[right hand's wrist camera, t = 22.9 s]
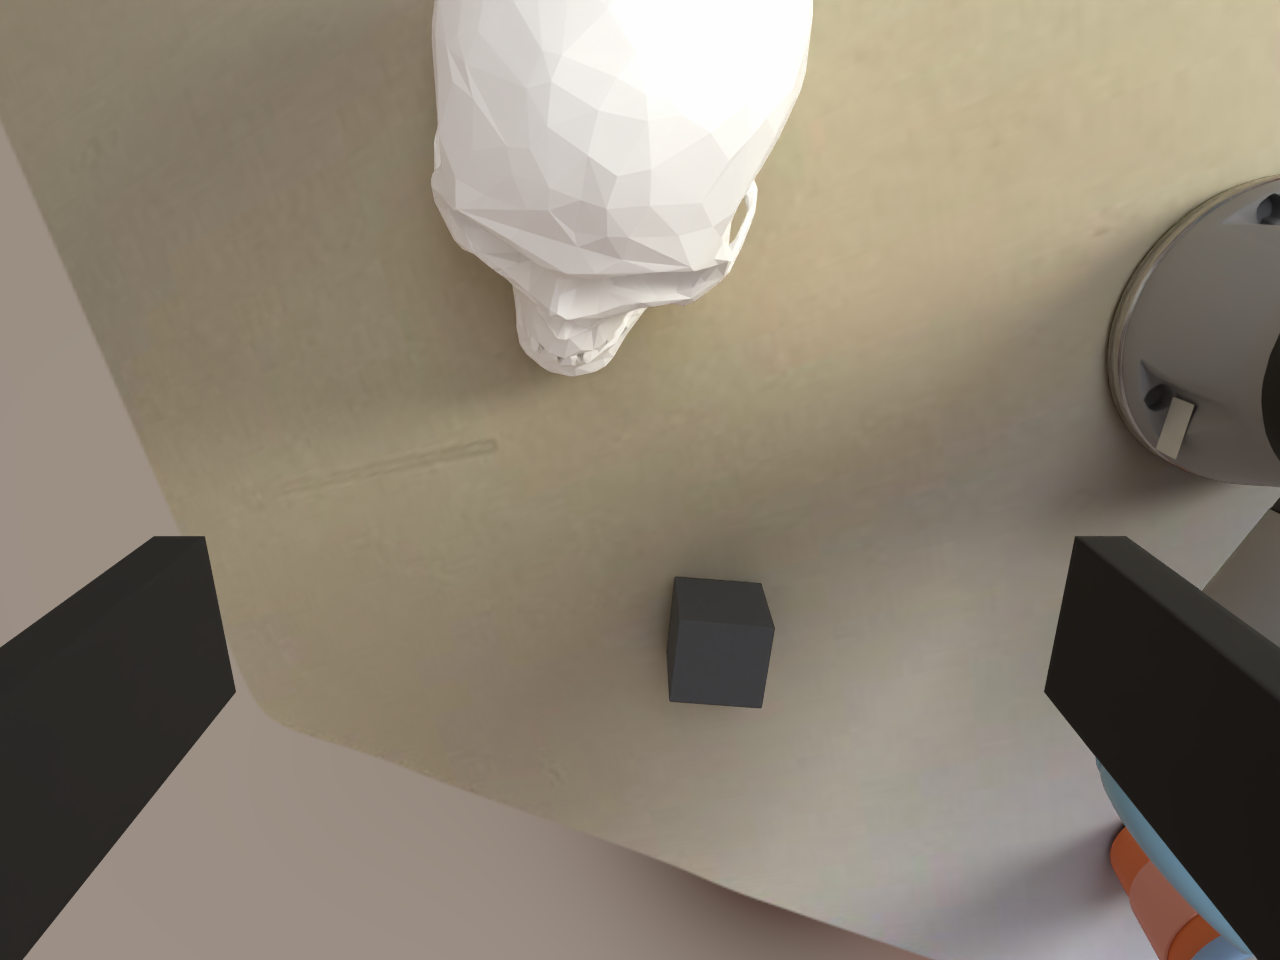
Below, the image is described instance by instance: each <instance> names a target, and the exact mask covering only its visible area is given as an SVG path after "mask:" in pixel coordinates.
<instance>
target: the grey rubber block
mask: <svg viewBox="0 0 1280 960" xmlns="http://www.w3.org/2000/svg"><path fill="white" fill-rule="evenodd" d="M774 630H775V627H774V624H773V621H772V617H771V614H770V611H769V608H768V604H767V601H766V598H765V594H764V591H763V588H762V585H761V584H760V583H749V582H736V581H723V580H710V579H698V578H685V577H675V581H674V589H673V598H672V607H671V616H670V625H669V633H668V642H667V651H666V652H667V670H668V687H669V701H670V702H681V703H695V704H708V705H722V706H735V707H749V708H762V703H763V697H764V691H765V685H766V678H767V672H768V666H769V660H770V654H771V648H772V642H773V636H774Z"/></svg>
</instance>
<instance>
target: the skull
mask: <svg viewBox="0 0 1280 960" xmlns="http://www.w3.org/2000/svg"><path fill="white" fill-rule="evenodd" d="M812 15H813V0H434V9H433V18H432V52H433V66H434V79H435V93H436V106H437V120H438V127H437V131H436V135H435V139H434V172H433V174H432V178H431V188H432V192H433V197H434V202H435V204H436V206H437V208H438V209H439V211H440V213H441V215H442V217H443V219H444V221H445V223H446V225H447V227H448V229H449V231H450V233H451V235H452V237H453V239H454V241H455V242H456V243H457V244H458V245H459V246H460V247H461V248H462V249H463V250H465V251H468V252H470V253H473V254H475V255H476V256H477V257H478V258H480V259H481V260H482V261H483V262H484V263H485V264H487V265H488V266H489V267H490V268H492V269H493V270H494V271H496V272H497V273H498V274H500V275H501V276H503V277H504V278H505V279H507V280H508V281H509V282H510V283H511V284H512V286H513V294H514V301H515V308H516V328H517V333H518V338H519V343H520V345H521V347H522V348H523V350H524V351H525V353H526V354H527V355H528V356H529V357H530V358H532V359H533V360H534V361H535V362H536V363H538V364H539V365H540V366H541V367H542V368H544V369H546V370H547V371H549V372H552V373H557V374H561V375H566V376H570V377H573V376H578V375H583V374H588V373H592V372H595V371H597V370H599V369H601V368H603V367H605V366H606V365H607V364H608V363H609V362H610V360H611V359H612V358H613V357H614V355H615V353H616V352H617V350H618V348H619V347H620V345H621V343H622V342H623V340H624V338H625V337H626V335H627V334H628V332H629V331H630V330H631V328H632V327H633V326H634V324H635V323H636V321H637V320H638V319H639V317H640V316H641V315H642V313H643V312H644V311H645V310H646V309H647V308H648V307H656V306H660V305H665V304H670V303H672V304H677V305H682V306H685V305H687V304H690V303H692V302H694V301H696V300H697V299H699V298H700V297H701V296H703V295H704V294H705V293H707V292H708V291H709V290H711V289H712V288H713V287H715V286H716V285H717V284H719V283H720V282H721V281H722V279H723V278H724V277H725V276H726V275H727V274H728V273H729V272H730V270H731V268H732V266H733V264H734V262H735V260H736V258H737V256H738V254H739V252H740V250H741V248H742V246H743V244H744V241H745V238H746V236H747V233H748V230H749V228H750V225H751V222H752V219H753V217H754V214H755V208H756V198H757V186H756V183H755V180H754V179H755V177H756V176H757V174H758V173H759V171H760V170H761V168H762V166H763V165H764V163H765V161H766V159H767V158H768V156H769V154H770V152H771V151H772V149H773V147H774V145H775V144H776V142H777V140H778V139H779V137H780V135H781V132H782V130H783V128H784V126H785V124H786V122H787V120H788V117H789V115H790V113H791V111H792V109H793V107H794V104H795V102H796V100H797V98H798V96H799V93H800V90H801V88H802V84H803V80H804V77H805V73H806V66H807V58H808V49H809V41H810V33H811V25H812ZM743 197H744V198H745V203H746V209H747V215H746V217H745V219H744V221H743V223H742V225H741V228H740V230H739V232H738V234H737V236H736V238H735V239H734V241H733V242H732V243H731V244H730V245H729V237H730V229H731V223H732V219H733V217H734V215H735V212H736V210H737V208H738V206H739V204H740V202H741V201H742V199H743Z"/></svg>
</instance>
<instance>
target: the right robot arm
mask: <svg viewBox="0 0 1280 960" xmlns="http://www.w3.org/2000/svg"><path fill="white" fill-rule="evenodd" d="M1107 368H1108V378H1109V384H1110V389H1111V394H1112V397H1113V400H1114V403H1115V406H1116V408H1117V410H1118V412H1119V414H1120V416H1121V418H1122V420H1123V422H1124V423H1125V425H1126V426H1127V428H1128V429H1129V431H1130V432H1131V433H1132V434H1133V435H1134V437H1135V438H1136V439H1137V440H1138V441H1139V442H1140V443H1141V444H1142V445H1143V446H1144V447H1146V448H1147V449H1148V450H1150V451H1151V452H1152V453H1154V454H1155V455H1157V456H1159V457H1160V458H1162V459H1164V460H1166V461H1167V462H1169V463H1171V464H1173V465H1175V466H1177V467H1179V468H1181V469H1183V470H1186V471H1188V472H1190V473H1193V474H1196V475H1199V476H1202V477H1206V478H1209V479H1213V480H1217V481H1221V482H1226V483H1233V484H1243V485H1258V486H1274V487H1280V175H1274V176H1269V177H1264V178H1260V179H1256V180H1253V181H1250V182H1246V183H1244V184H1241V185H1239V186H1236V187H1233V188H1231V189H1229V190H1227V191H1225V192H1223V193H1221V194H1219V195H1217V196H1215V197H1213V198H1211V199H1210V200H1208V201H1206V202H1205V203H1203V204H1201V205H1200V206H1198V207H1197V208H1195V209H1194V210H1193V211H1191V212H1190V213H1189V214H1187V215H1186V216H1185V217H1183V218H1182V219H1181V220H1180V221H1179V222H1177V223H1176V224H1175V225H1174V226H1173V227H1172V228H1171V229H1170V230H1169V231H1168V232H1167V233H1166V234H1165V235H1164V236H1163V237H1162V238H1161V239H1160V240H1159V241H1158V242H1157V243H1156V244H1155V245H1154V247H1153V248H1152V249H1151V250H1150V251H1149V252H1148V254H1147V255H1146V256H1145V258H1144V259H1143V261H1142V262H1141V263H1140V265H1139V266H1138V268H1137V269H1136V271H1135V273H1134V274H1133V276H1132V277H1131V279H1130V281H1129V283H1128V285H1127V287H1126V289H1125V291H1124V293H1123V295H1122V297H1121V300H1120V302H1119V305H1118V307H1117V310H1116V313H1115V316H1114V320H1113V323H1112V327H1111V332H1110V337H1109V344H1108V365H1107ZM235 692H236V690H235V685H234V680H233V675H232V670H231V665H230V660H229V655H228V650H227V645H226V640H225V635H224V630H223V625H222V620H221V615H220V610H219V605H218V600H217V595H216V590H215V585H214V580H213V575H212V570H211V565H210V560H209V555H208V550H207V545H206V540H205V536H154V537H152V538H151V539H150V540H148V541H147V542H146V543H144V544H143V545H141V546H140V547H139V548H137V549H136V550H134V551H133V552H132V553H130V554H129V555H128V556H126V557H125V558H123V559H122V560H121V561H119V562H118V563H117V564H115V565H114V566H112V567H111V568H110V569H108V570H107V571H105V572H104V573H103V574H101V575H100V576H99V577H97V578H96V579H94V580H93V581H92V582H90V583H89V584H87V585H86V586H85V587H83V588H82V589H81V590H79V591H78V592H76V593H75V594H74V595H72V596H71V597H69V598H68V599H67V600H65V601H64V602H63V603H61V604H60V605H59V606H57V607H56V608H54V609H53V610H52V611H50V612H49V613H47V614H46V615H45V616H43V617H42V618H41V619H39V620H38V621H36V622H35V623H34V624H32V625H31V626H29V627H28V628H27V629H25V630H24V631H23V632H21V633H20V634H18V635H17V636H16V637H14V638H13V639H11V640H10V641H9V642H7V643H6V644H5V645H3V646H2V647H0V960H23V958H24V957H25V956H26V955H27V953H28V952H29V951H30V950H31V948H32V947H33V946H34V945H35V943H36V942H37V941H38V940H39V938H40V937H41V936H42V935H43V933H44V932H45V931H46V930H47V928H48V927H49V926H50V925H51V923H52V922H53V921H54V920H55V918H56V917H57V916H58V915H59V913H60V912H61V911H62V910H63V908H64V907H65V906H66V904H67V903H68V902H69V901H70V899H71V898H72V897H73V896H74V894H75V893H76V892H77V891H78V889H79V888H80V887H81V886H82V884H83V883H84V882H85V881H86V879H87V878H88V877H89V876H90V874H91V873H92V872H93V871H94V869H95V868H96V867H97V866H98V864H99V863H100V862H101V861H102V859H103V858H104V857H105V855H106V854H107V853H108V852H109V851H110V849H111V848H112V847H113V845H114V844H115V843H116V842H117V840H118V839H119V838H120V837H121V835H122V834H123V833H124V832H125V830H126V829H127V828H128V827H129V825H130V824H131V823H132V822H133V820H134V819H135V818H136V817H137V815H138V814H139V813H140V812H141V810H142V809H143V808H144V807H145V805H146V804H147V803H148V801H149V800H150V799H151V798H152V797H153V795H154V794H155V793H156V792H157V790H158V789H159V788H160V787H161V785H162V784H163V783H164V781H165V780H166V779H167V778H168V776H169V775H170V774H171V773H172V771H173V770H174V769H175V768H176V766H177V765H178V764H179V763H180V761H181V760H182V759H183V758H184V756H185V755H186V754H187V753H188V751H189V750H190V749H191V748H192V746H193V745H194V744H195V743H196V741H197V740H198V739H199V738H200V736H201V735H202V734H203V733H204V731H205V730H206V729H207V728H208V726H209V725H210V724H211V722H212V721H213V720H214V719H215V717H216V716H217V715H218V714H219V712H220V711H221V710H222V709H223V707H224V706H225V705H226V704H227V702H228V701H229V700H230V699H231V697H232V696H233V695H234V694H235ZM1044 692H1045V694H1046V695H1047V696H1048V697H1049V699H1050V700H1051V701H1052V702H1053V704H1054V705H1055V706H1056V707H1057V709H1058V710H1059V711H1060V712H1061V714H1062V715H1063V716H1064V717H1065V719H1066V720H1067V721H1068V722H1069V724H1070V725H1071V726H1072V728H1073V729H1074V730H1075V731H1076V733H1077V734H1078V735H1079V736H1080V738H1081V739H1082V740H1083V741H1084V743H1085V744H1086V745H1087V746H1088V748H1089V749H1090V750H1091V751H1092V753H1093V754H1094V755H1095V756H1096V764H1097V767H1098V769H1099V771H1100V775H1101V780H1102V783H1103V786H1104V789H1105V791H1106V793H1107V795H1108V797H1109V799H1110V801H1111V803H1112V805H1113V807H1114V808H1115V810H1116V812H1117V814H1118V815H1119V817H1120V818H1121V820H1122V822H1123V823H1124V825H1125V826H1126V828H1127V829H1128V831H1129V832H1130V834H1131V835H1132V836H1133V838H1134V839H1135V841H1136V842H1137V843H1138V845H1139V846H1140V848H1141V849H1142V850H1143V851H1144V853H1145V854H1146V855H1147V857H1148V858H1149V859H1150V860H1151V862H1152V863H1153V864H1154V865H1155V866H1156V868H1157V869H1158V870H1159V871H1160V872H1161V874H1162V875H1163V876H1164V877H1165V878H1166V879H1167V881H1168V882H1169V883H1170V884H1171V885H1172V886H1173V887H1174V888H1175V889H1176V891H1177V892H1178V893H1179V894H1180V895H1181V896H1182V897H1183V898H1184V899H1185V900H1186V901H1187V903H1188V904H1189V905H1190V906H1191V907H1192V908H1193V909H1194V910H1195V911H1196V912H1197V913H1198V914H1199V915H1200V916H1201V917H1202V918H1203V919H1204V920H1205V921H1206V922H1207V923H1208V924H1209V925H1210V926H1212V927H1213V928H1214V929H1215V930H1216V931H1217V932H1218V933H1219V934H1220V935H1221V936H1222V937H1224V938H1225V939H1226V940H1227V941H1228V942H1229V943H1230V944H1231V945H1233V946H1234V947H1235V948H1237V949H1238V950H1239V951H1240V952H1242V953H1243V954H1246V955H1254V956H1255V957H1256V958H1257V960H1280V498H1279V499H1278V500H1277V502H1276V503H1275V504H1274V505H1273V506H1272V507H1271V508H1270V509H1269V510H1268V511H1267V512H1266V513H1265V515H1264V516H1263V517H1262V518H1261V520H1260V521H1259V522H1258V523H1257V524H1256V526H1255V527H1254V528H1253V529H1252V530H1251V532H1250V533H1249V534H1248V535H1247V537H1246V538H1245V539H1244V540H1243V541H1242V543H1241V544H1240V545H1239V546H1238V548H1237V549H1236V550H1235V551H1234V552H1233V554H1232V555H1231V556H1230V557H1229V559H1228V560H1227V561H1226V562H1225V563H1224V565H1223V566H1222V567H1221V568H1220V570H1219V571H1218V572H1217V573H1216V574H1215V576H1214V577H1213V578H1212V579H1211V581H1210V582H1209V583H1208V584H1207V585H1206V587H1205V588H1204V589H1203V590H1202V591H1201V590H1199V589H1198V588H1197V587H1195V586H1194V585H1193V584H1191V583H1190V582H1188V581H1187V580H1186V579H1184V578H1183V577H1181V576H1180V575H1179V574H1177V573H1176V572H1175V571H1173V570H1172V569H1170V568H1169V567H1168V566H1166V565H1165V564H1164V563H1162V562H1161V561H1159V560H1158V559H1157V558H1155V557H1154V556H1152V555H1151V554H1150V553H1148V552H1147V551H1146V550H1144V549H1143V548H1141V547H1140V546H1139V545H1137V544H1136V543H1135V542H1133V541H1132V540H1130V539H1129V538H1128V537H1126V536H1075V540H1074V545H1073V550H1072V555H1071V560H1070V565H1069V570H1068V575H1067V580H1066V585H1065V590H1064V595H1063V600H1062V605H1061V610H1060V615H1059V620H1058V625H1057V630H1056V635H1055V640H1054V645H1053V650H1052V655H1051V660H1050V665H1049V670H1048V675H1047V680H1046V685H1045V690H1044Z"/></svg>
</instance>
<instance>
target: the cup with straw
mask: <svg viewBox="0 0 1280 960" xmlns="http://www.w3.org/2000/svg"><path fill="white" fill-rule="evenodd" d="M1110 861H1111V865H1112V868H1113V870H1114V872H1115V873H1116V875H1117V877H1118V879H1119V881H1120V883H1121V884H1122V886H1123V888H1124V890H1125V892H1126V893H1127V895H1128V897H1129V900H1130V905H1131V908H1132V910H1133V912H1134V914H1135V916H1136V918H1137V920H1138V922H1139V923H1140V925H1141V927H1142V929H1143V931H1144V933H1145V934H1146V936H1147V938H1148V940H1149V942H1150V943H1151V945H1152V947H1153V949H1154V951H1155V953H1156V954H1157V956H1158V958H1159V960H1257V958H1256V957H1255V956H1254V955H1246V954H1243V953H1242V952H1240V951H1239V950H1238V949H1237V948H1235V947H1234V946H1233V945H1231V944H1230V943H1229V942H1228V941H1227V940H1226V939H1225V938H1224V937H1222V936H1221V935H1220V934H1219V933H1218V932H1217V931H1216V930H1215V929H1214V928H1213V927H1212V926H1210V925H1209V924H1208V923H1207V922H1206V921H1205V920H1204V919H1203V918H1202V917H1201V916H1200V915H1199V914H1198V913H1197V912H1196V911H1195V910H1194V909H1193V908H1192V907H1191V906H1190V905H1189V904H1188V903H1187V901H1186V900H1185V899H1184V898H1183V897H1182V896H1181V895H1180V894H1179V893H1178V892H1177V891H1176V889H1175V888H1174V887H1173V886H1172V885H1171V884H1170V883H1169V882H1168V881H1167V879H1166V878H1165V877H1164V876H1163V875H1162V874H1161V872H1160V871H1159V870H1158V869H1157V868H1156V866H1155V865H1154V864H1153V863H1152V862H1151V860H1150V859H1149V858H1148V857H1147V855H1146V854H1145V853H1144V851H1143V850H1142V849H1141V848H1140V846H1139V845H1138V843H1137V842H1136V841H1135V839H1134V838H1133V836H1132V835H1131V834H1130V832H1129V831H1128V829H1127V828H1126V827H1125V828H1123V829H1122V830H1121V831H1120V833H1119V834H1118V835H1117V837H1116V838H1115V840H1114V842H1113V844H1112V847H1111V851H1110Z"/></svg>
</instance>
